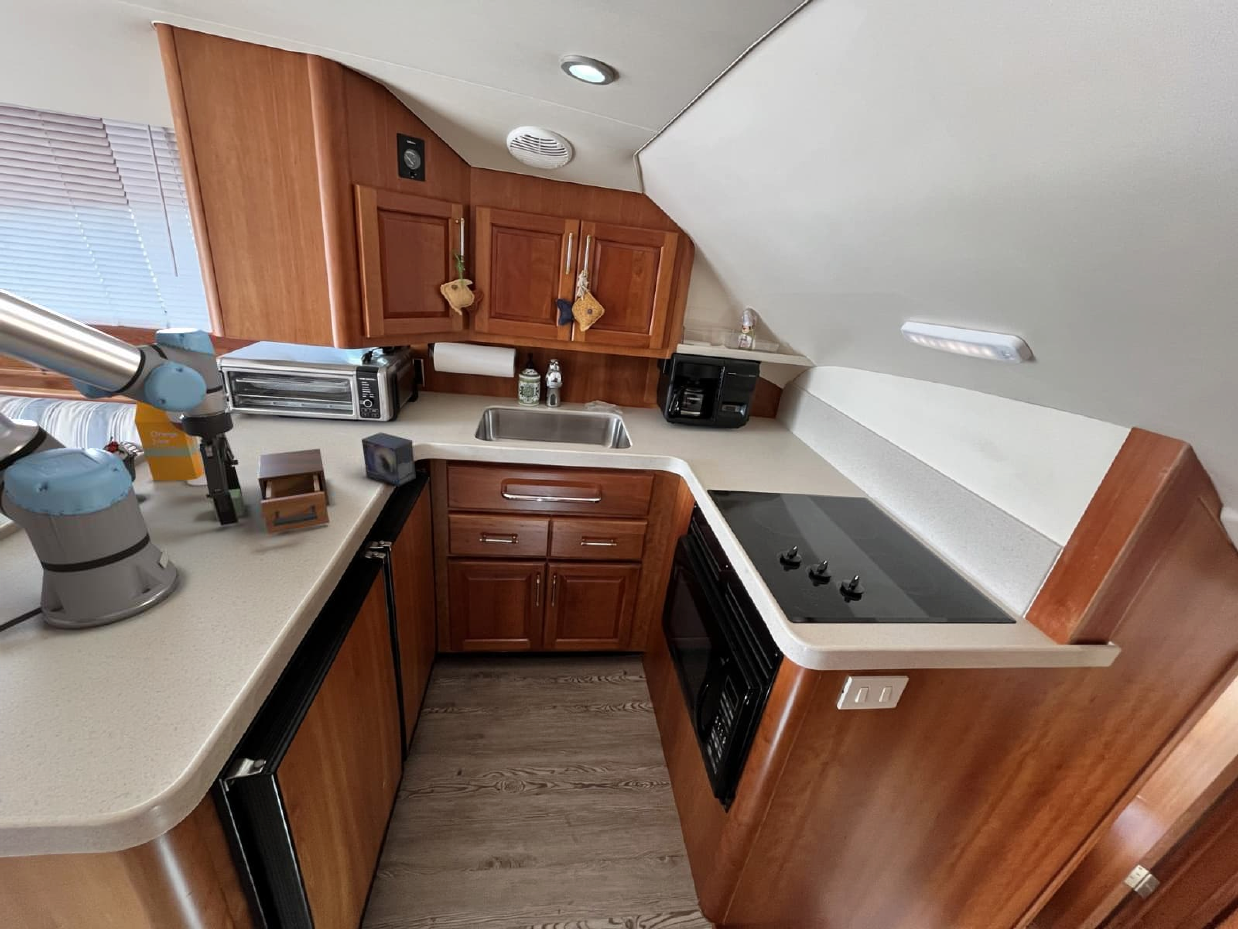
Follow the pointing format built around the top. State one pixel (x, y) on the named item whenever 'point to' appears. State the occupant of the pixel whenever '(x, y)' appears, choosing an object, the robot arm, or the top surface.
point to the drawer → (294, 504)
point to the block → (234, 503)
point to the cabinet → (291, 468)
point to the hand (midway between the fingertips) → (232, 508)
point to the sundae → (124, 460)
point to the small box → (389, 458)
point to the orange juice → (166, 446)
